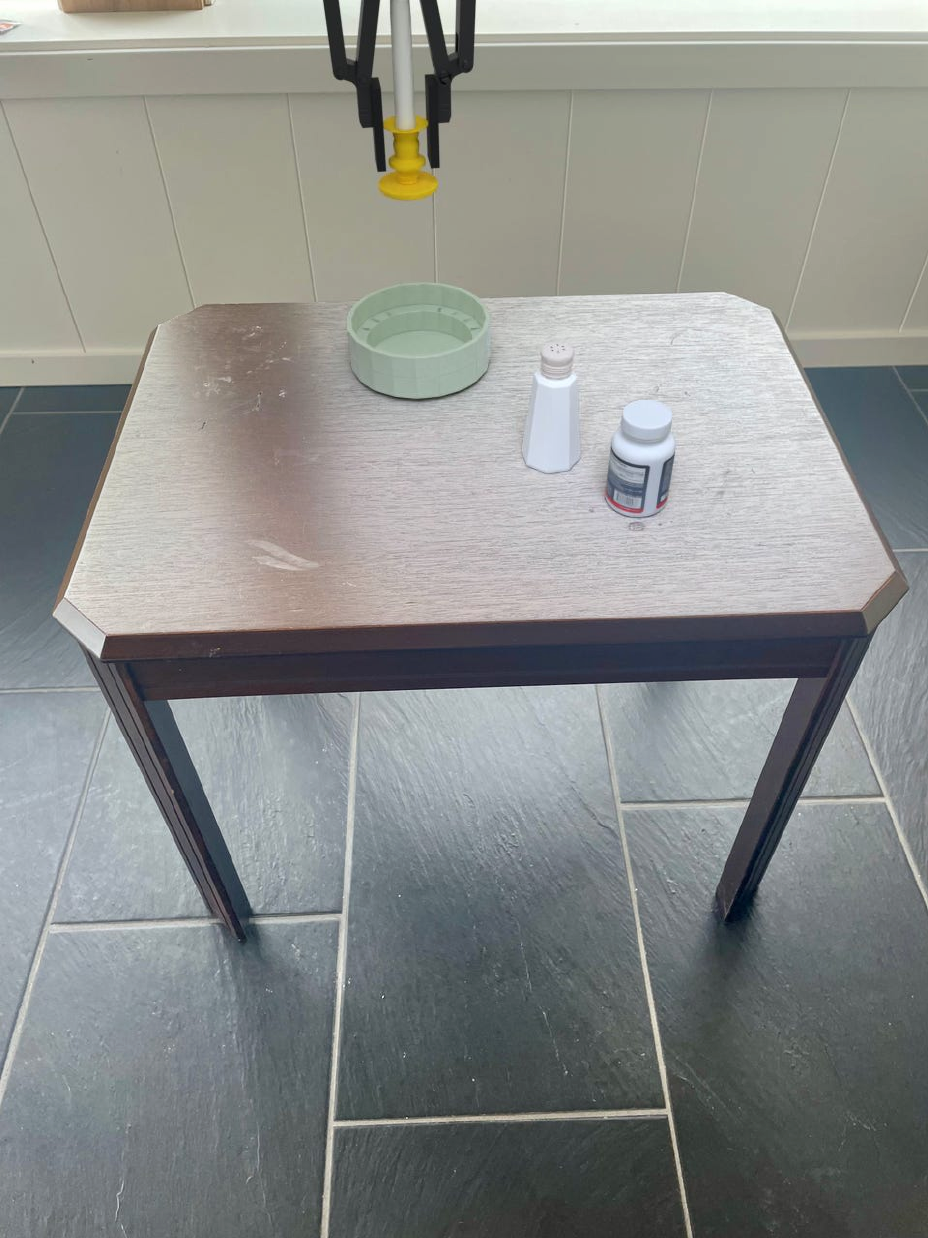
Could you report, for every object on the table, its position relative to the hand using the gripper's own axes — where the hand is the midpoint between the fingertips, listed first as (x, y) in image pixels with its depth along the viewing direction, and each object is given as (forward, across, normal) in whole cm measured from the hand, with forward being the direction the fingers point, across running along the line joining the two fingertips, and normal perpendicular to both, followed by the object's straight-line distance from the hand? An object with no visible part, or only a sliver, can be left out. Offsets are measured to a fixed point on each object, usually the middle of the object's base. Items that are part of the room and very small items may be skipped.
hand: (407, 162), depth 83 cm
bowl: (+20, 0, 0) cm, 20 cm away
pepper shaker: (+20, -10, +17) cm, 28 cm away
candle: (+2, 0, 0) cm, 2 cm away
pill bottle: (+20, -16, +24) cm, 35 cm away
